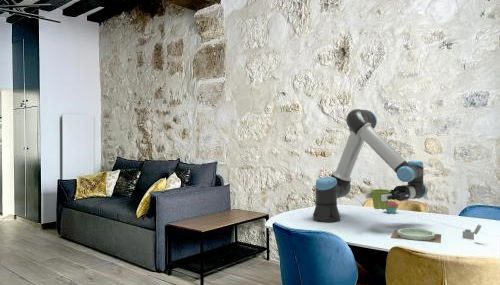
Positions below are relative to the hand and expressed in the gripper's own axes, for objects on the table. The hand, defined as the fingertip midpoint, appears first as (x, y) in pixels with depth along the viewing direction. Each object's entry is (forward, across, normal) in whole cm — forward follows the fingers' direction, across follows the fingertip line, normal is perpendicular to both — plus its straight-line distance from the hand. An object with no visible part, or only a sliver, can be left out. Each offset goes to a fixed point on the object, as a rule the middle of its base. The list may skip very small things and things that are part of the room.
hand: (373, 196), depth 181 cm
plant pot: (-5, 0, -6) cm, 8 cm away
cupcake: (-51, +29, -18) cm, 62 cm away
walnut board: (-8, -16, -18) cm, 26 cm away
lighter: (-24, -33, -18) cm, 44 cm away
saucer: (-8, -16, -16) cm, 24 cm away
